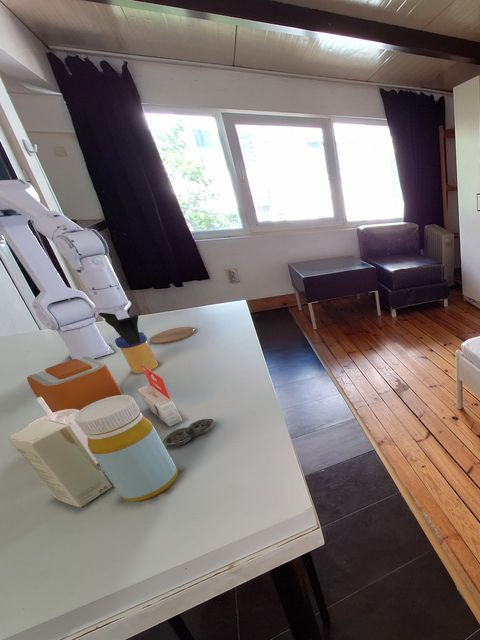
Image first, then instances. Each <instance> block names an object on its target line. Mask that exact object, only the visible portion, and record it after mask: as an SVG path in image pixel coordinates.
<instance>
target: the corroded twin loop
mask: <svg viewBox="0 0 480 640" xmlns="http://www.w3.org/2000/svg"><path fill="white" fill-rule="evenodd" d="M213 423H214V419H213V418H203V419H198V420H196V421H194V422H192V423H191V424H189V426H187V427H181V428H177V429H174V430H173V431H171V432H170V433H169V434H167V435H166V437H164V438H163V440H162V443H163V445H167V446H168V447H175V446H183V445H185V444H186V443H188V442H190V440H192V438H193V437H196V436H202V435H205V434H207V432H209V431H210V430H211V429H212V427H213V425H214V424H213ZM183 434H184V435H185V436H183ZM181 436H183V437H181Z"/></svg>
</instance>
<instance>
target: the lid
mask: <svg viewBox="0 0 480 640" xmlns="http://www.w3.org/2000/svg"><path fill="white" fill-rule="evenodd" d="M138 332H139V336H140V343H137V344H134V345H129V344H128V343H127V342H126V341H125V340H124V339H123V337H122V336H118V337H117V338H114V344H115V346H116V347H117V348H119V349H120V348H127V347H132V346H136V345H139V344H142V343H144V342H145V341H146V340H147V341H148V337H147V335H146V334H145V333H144V332H142V331H138Z"/></svg>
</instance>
